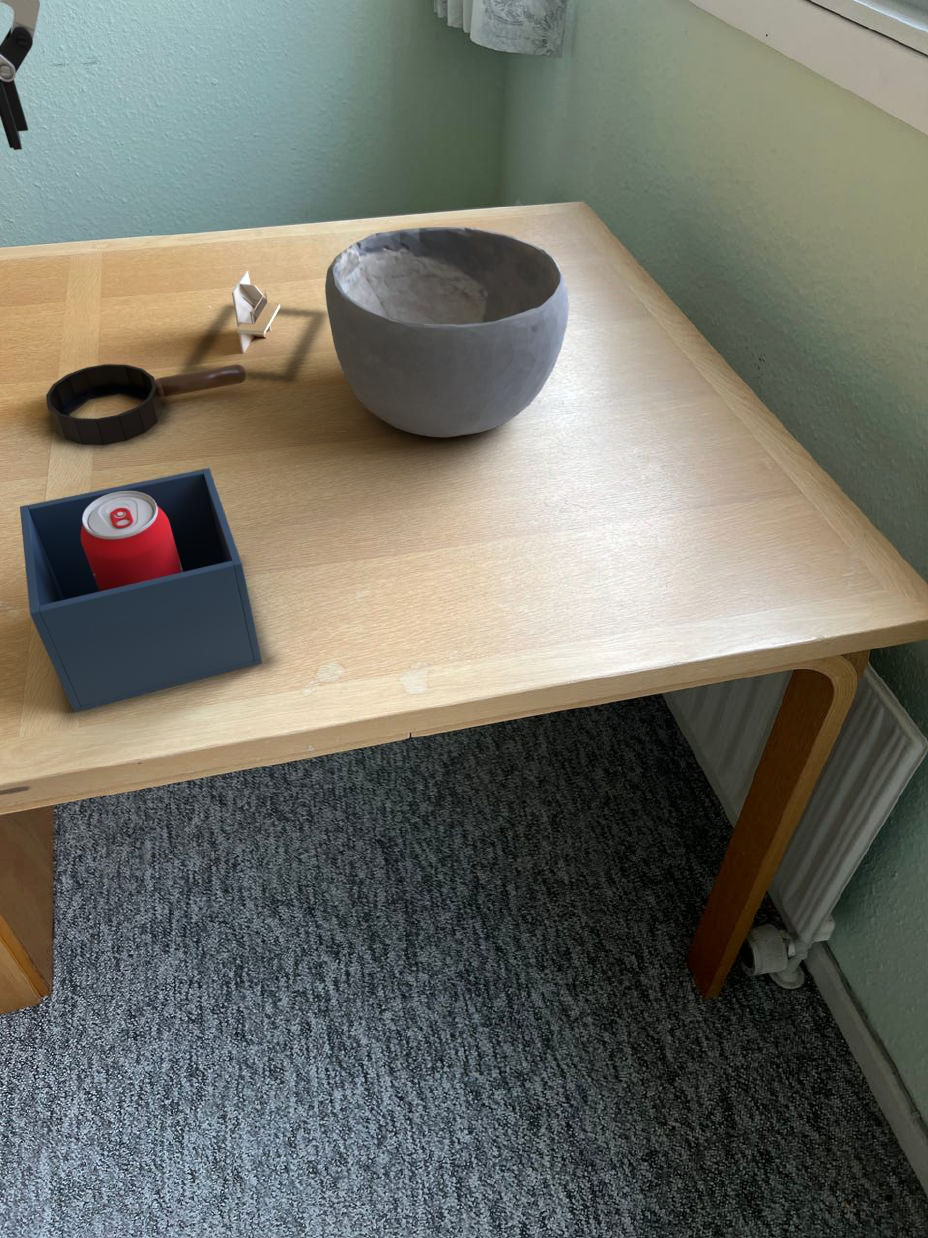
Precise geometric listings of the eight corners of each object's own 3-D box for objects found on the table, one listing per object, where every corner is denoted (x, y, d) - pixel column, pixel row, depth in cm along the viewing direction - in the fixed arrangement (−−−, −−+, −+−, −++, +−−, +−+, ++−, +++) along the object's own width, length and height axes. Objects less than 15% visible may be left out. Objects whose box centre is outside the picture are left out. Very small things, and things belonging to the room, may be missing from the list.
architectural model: (284, 332, 110) (276, 271, 105) (268, 361, 105) (259, 299, 100) (256, 330, 110) (246, 269, 105) (238, 359, 105) (228, 297, 100)
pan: (59, 454, 92) (49, 427, 89) (51, 399, 99) (42, 372, 96) (261, 415, 97) (256, 389, 95) (239, 366, 104) (235, 340, 102)
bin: (74, 714, 69) (29, 613, 61) (60, 606, 77) (19, 506, 69) (262, 664, 73) (242, 563, 65) (231, 566, 80) (209, 467, 73)
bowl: (385, 332, 110) (380, 203, 100) (583, 370, 105) (599, 239, 94) (291, 441, 94) (272, 302, 83) (519, 494, 89) (530, 352, 78)
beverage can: (185, 594, 77) (154, 477, 69) (205, 643, 73) (174, 525, 65) (109, 616, 75) (67, 499, 67) (125, 668, 71) (82, 550, 63)
